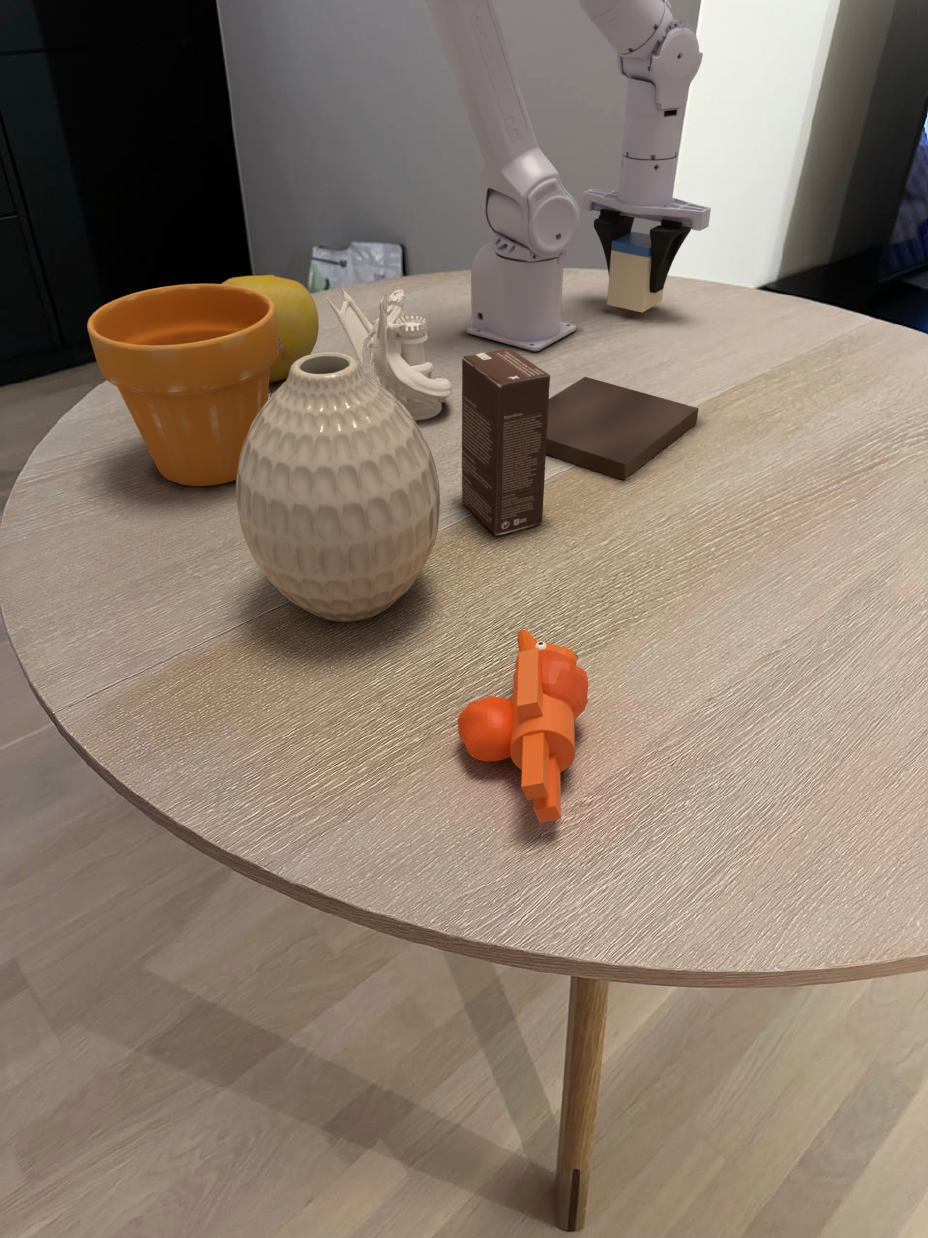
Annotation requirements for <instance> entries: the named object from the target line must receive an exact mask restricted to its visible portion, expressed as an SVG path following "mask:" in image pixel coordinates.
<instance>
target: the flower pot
mask: <svg viewBox="0 0 928 1238" xmlns="http://www.w3.org/2000/svg"><path fill="white" fill-rule="evenodd" d="M86 328H87V332H88V335H89V339H90V343H91V346H92V350H93V354H94V357H95V360H96V364H97V367H98V369H99V372H100V374H101V375H102V377H103V378H104V379H105V380H106V381H107V382H109V383H110V384H111V385H113V386H115V387H116V388H117V389H118V391H119V393H120V395H121V397H122V399H123V402H124V403H125V404H126V407H127V409H128V411H129V414H130V415H131V418H132V420H133V421H134V424H135V425H136V428H137V430H138V432H139V434H140V436H141V438H142V440H143V442H144V444H145V446H146V448H147V450H148V452H149V454H150V456H151V458H152V460H153V462H154V464H155V466H156V467H157V469H158V471H159V473H160V474H161V476H162V477H163V478H165V479H166V480H168V481H171V482H173V483H177V484H179V485H182V486H184V485H185V486H190V487H209V486H210V487H211V486H216V485H221V484H228V483H231V482H234V481H236V477H237V470H238V463H239V457H240V454H241V451H242V447H243V444H244V441H245V439H246V436H247V434H248V432H249V429H250V427H251V424H252V422H253V421H254V419H255V417H256V416H257V414H258V412H259V411H260V409H261V408H262V407H263V405H264V404H265V403H266V402H267V400H268V399H269V387H270V382H269V373H270V367H271V366H272V365H273V364H274V362H275V361H276V359H277V357H278V354H279V339H278V329H277V320H276V313H275V306H274V304H273V302H272V301H271V299H269V298H268V297H267V296H266V295H264V294H262V293H260V292H258V291H255V290H252V289H248V288H244V287H239V286H233V285H224V284H222V283H185V284H176V285H168V286H162V287H156V288H151V289H145V290H141V291H137V292H134V293H131V294H127V295H124V296H122V297H119V298H116V299H114V300H112V301H110V302H108V303H106V304H103V305H102V306H100V307H99V308H98V309H96V310H95V311H94V312H93V313H92V314H91V316H90V317H89V318H88V321H87V326H86Z"/></svg>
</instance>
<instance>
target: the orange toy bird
mask: <svg viewBox="0 0 928 1238" xmlns="http://www.w3.org/2000/svg"><path fill="white" fill-rule="evenodd" d="M516 642H517V646H518V654H517V656H516V660H515V663H514V665H515V666H514V667H515V668H514V669H515V671H514V673H513V680H512V683H513V684H512V698H511V699H512V700H510V699H509V698H507V697H501V696H491V695H489V696H486V697H484V698H481V699H479V700H475V701H470V702H469V704H467V706H466V707H465V708H464V709H463V710H462V711H461V712H460V713H459V715H458V717H457V733H458V737H459V739H460V740H461V741H462V743H463V744H464V745H465V749H466V750H467V753H468V754H469V756H471V757H472V758H474V759H476V760H479V761H482V762H483V761H484V762H498V761H503V760H506V759H508V758H510V759H511V761H512V762H513V764H514V765H515V766H516V767H517V768H518V769H520V770H521V789H522V792H523V794H524V796H525V799H526V800H527V801H529V800H530V801H531V800H533V811H534V813H535V815H536V818H537V819H538V822H539V823H546V822H551V821H557V820H561V819H562V802H561V801H562V800H561V792H562V791H561V773H562V772H564V771H565V770H567V769H568V768H569V767H570V766H571V765H572V763H573V762H574V760H575V757H576V740H575V739H576V737H575V721H576V720H577V719H578V717H579V716H580V715H581V714H582V713H583V712H584V711H585V709H586V707H587V705H588V703H589V700H588V699H589V698H588V693H589V677H588V674H587V672H586V671H585V670H584V669H583V668H582V667H579V666H578V665H577V662H578V657H579V656H578V654H577V653H576V652H575V651H573V649H571V648H568V647H566V646H561V645H556V644H552V643H549V642H546V641H542V640H541V641H540V640H539V641H538V640H537V639H535V638H534V637H533V636H532V634H531V633H530V631H528V629H521V630H519V631H518V632H517V638H516Z"/></svg>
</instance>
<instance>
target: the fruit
mask: <svg viewBox="0 0 928 1238" xmlns="http://www.w3.org/2000/svg"><path fill="white" fill-rule="evenodd" d="M221 284H224V285H233V286H239V287H244V288H248V289H252V290H255V291H258V292H260V293H262V294H264V295H266V296H267V297H268V298H269V299H271V301H272V302H273V304H274V306H275V313H276V320H277V329H278V339H279V354H278V357H277V359H276V361H275V362H274V364H273V365H272V366H271V367H270V373H269V383H275V382H280V381H282V380H283V381H284V380H287V378H288V375H289V370H290V368H291V365H292V364H293V363H294V362H295V361H297V360H298V359H300V358H302V357H304V356H307V355H311V354H312V352H313V350H314V348H315V346H316V343H317V341H318V336H319V327H320V325H319V324H320V322H319V313H318V312H319V311H318V308H317V304H316V302H315V300H314V298H313V296H312V294H311V293H310V291H309V290H308V289H307V288H306V287H305V286H304V285H303V284H302V283H300V282H299V281H297V280H293V279H289V278H285V277H281V276H276V275H274V274H265V275H264V274H263V275H244V276H236V277H231V278H228V279H227V280H225V281H223V282H222V283H221Z"/></svg>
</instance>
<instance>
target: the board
mask: <svg viewBox="0 0 928 1238" xmlns="http://www.w3.org/2000/svg"><path fill="white" fill-rule="evenodd" d="M698 417H699V407H696V406H692V405H689V404H685V403H682V402H678V401H674V400H671V399H667V398H665V397H664V398H663V397H661V396H657V395H653V394H649V393H647V392H643V391H638V390H636V389H635V390H634V389H631V388H628V387H624V386H620V385H616V384H613V383H610V382H605V381H602V380H600V379H599V380H598V379H595V378H592V377H588V376H584V377H582V378H581V379H579V380H577V381H576V382H574V383H572V384H571V385H569V386H568V387H566V388H564V389H563V390H560V391H559V392H558V393H557V394H554V395H553V396H551V397H549V403H548V423H547V440H546V456H551V457H553V458H556V459H559V460H562V461H565V462H568V463H571V464H574V465H577V466H581V467H583V468H586V469H589V470H592V471H595V472H599V473H601V474H604V475H607V476H610V477H614V478H616V479H619V480H623V481H624V480H625V479H627V478H628V477H629V476H631V475H632V474H633V473H635V472H636V471H637V470H639V469H640V468H641V467H642V466H643V465H645V464H646V463H648V462H649V461H650V460H651V459H652V458H654V457H655V456H656V455H657V454H659V453H660V452H662V451H663V450H664V449H665V448H666V447H668V446H669V445H670V444H672V443H673V442H674V441H676V440H677V439H678V438H680V436H682V435H683V434H684V433H686V432H687V431H688V430H690V429H691V428H693V426H695V425H696V424H697V422H698V421H697V420H698Z"/></svg>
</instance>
